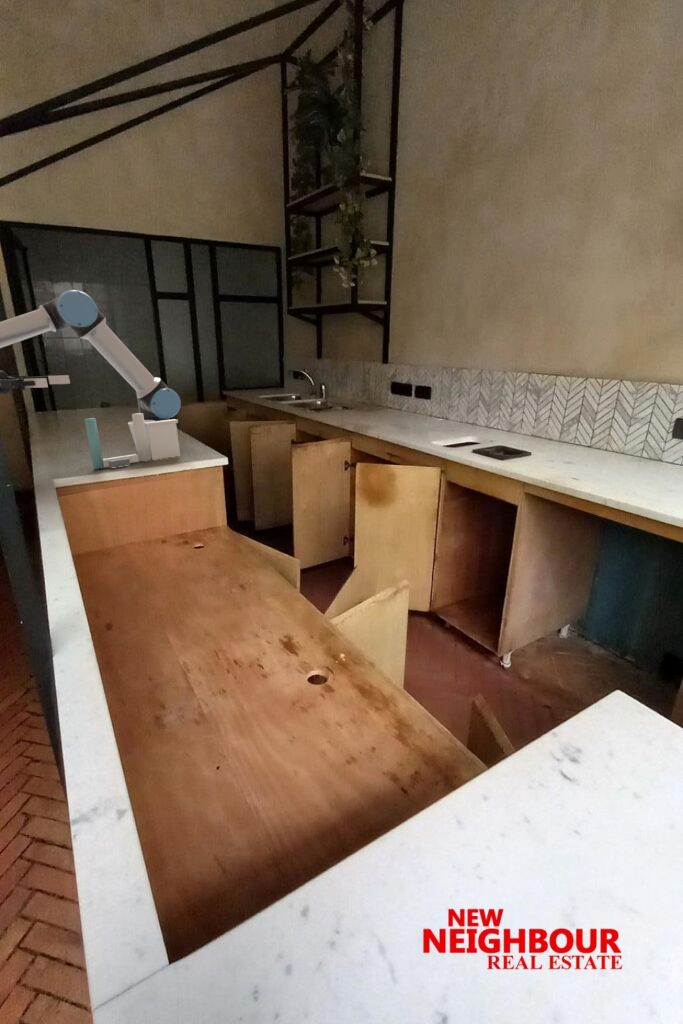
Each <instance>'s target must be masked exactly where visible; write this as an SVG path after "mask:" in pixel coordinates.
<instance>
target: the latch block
mask: <svg viewBox="0 0 683 1024" xmlns="http://www.w3.org/2000/svg"><path fill="white" fill-rule="evenodd" d="M125 465H130V466H131V463H130V460H129V458H122V459H115V460H109V466H108V467H109V468H110V467H111V468H112V467H119V466H125ZM111 468H110V469H111Z"/></svg>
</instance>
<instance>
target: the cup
mask: <svg viewBox="0 0 683 1024" xmlns="http://www.w3.org/2000/svg"><path fill="white" fill-rule="evenodd" d="M145 422H154V420H144V423H145ZM127 425H128V427H129V430H130V433H131V435H132V439H133V441H134V445H135V449H137V445H136V439H135V432H134V426H133V420H132V421H129V422H127ZM145 430H146V426H145ZM146 436H147V431H146ZM147 443H148V438H147ZM148 450H149V445H148Z"/></svg>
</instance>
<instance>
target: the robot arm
mask: <svg viewBox="0 0 683 1024" xmlns="http://www.w3.org/2000/svg"><path fill="white" fill-rule="evenodd" d="M67 329H71V330H72V331H73V333H74V334H75V335H76V336H77V337H79V338H80V339H81V340H82V339H83V340H87V341H88V342H89V343H90V344H91V345H92V346H93V347H94V348H95V350H97V352H99V354H100V355H101V356H102V357H103V358H104V359H105V360H107V362H108V363H109V364H110V365H111V366H112V368H114V369H115V370H116V371H117V373H119V375H121V377H122V378H123V379H124V380H125V381H126V382H127V383H128V384H129V385H130V386H131V387H132V389H134V390H135V395H136V398H137V399H136V400H137V407H138V413H143V416H144V420H154V421H163V420H170V418H173V417H176V415H177V414H178V413H179V411H180V409H181V405H182V401H181V397H180V396H179V394H178V393H177V392H176V391H174V390H173V389H172V388H169V387H168V385H167V384H166V383H165V382H164V381H163V380H162V379H161V377H157V376H156V377H154V376H153V374H151V372H149V370H148V369H147V368H146V367H145V366H144V365H143V363H141V361H140V360H139V359H138V358H137V357H136V356H135V355H134V354H133V353H132V351H131V350H130V349H129V348H128V347H127V346H126V345H125V343H124V342H123V341H121V340H120V338H119V336H117V334H115V333H114V332H113V331H112V329H111V328H110V327H109V326H108V325H107V318H106V317H105V315H104V314H103V313H102V312H101V311H100V310H99V308H98V307H97V304H96V303H95V301H94V299H93V298H92V297H91V296H90V295H88V294H87V293H85V292H83V291H80V290H75V289H70V290H66V291H64V292H62V293H61V294H60V295H58V296H57V297H55V298H54V299H52V300H50V301H48V302H45V303H43V304H40V305H39V308H38V309H35V310H33V311H30V312H26V313H23V314H20V315H17V316H13V317H11V318H8V319H5V320H2V321H0V349H2V348H5V347H8V346H11V345H12V344H16V343H18V342H22V341H24V340H28V339H30V338H33V337H36V336H38V335H42V334H44V333H45V334H46V332H49V331H51V332H54V333H56V332H61V331H64V330H67ZM68 384H69V385H70V384H71V381H70V375H68V374H67V375H66V374H65V375H51V373H47V375H43V376H42V375H41V376H27V375H8V374H7V372H5V370H0V395H8V394H9V393H10V392H11V390H14V389H16V390H17V389H20V391H26V389H33V388H35V389H37V388H40V389H41V388H49V385H68Z"/></svg>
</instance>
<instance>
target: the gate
mask: <svg viewBox="0 0 683 1024" xmlns="http://www.w3.org/2000/svg"><path fill="white" fill-rule="evenodd" d="M131 417H132V421H133V426H134V432H135V439H136V445H137V448H136V451H137V453H133V454H126V455H119V456H114V457H108V458H103V453H102V447H101V443H100V442H101V441H100V435H99V431H98V424H97V418H96V417H89V418H84V425H85V429H86V435H87V440H88V441H87V442H88V446H89V447H88V448H89V451H90V455H91V462H92V467H93V469H94V470H99V468H101V469H104V468H106V467H110V466H109V460H115V459H122V458H129V460H130V464H132V463H137V462H140V461H145V462H149V461H151V459H150V452H149V450H148V443H147V436H146V430H145V423H144V416H143V413H139V412H137V413H132V414H131ZM136 445H135V446H136ZM148 460H149V461H148Z"/></svg>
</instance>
